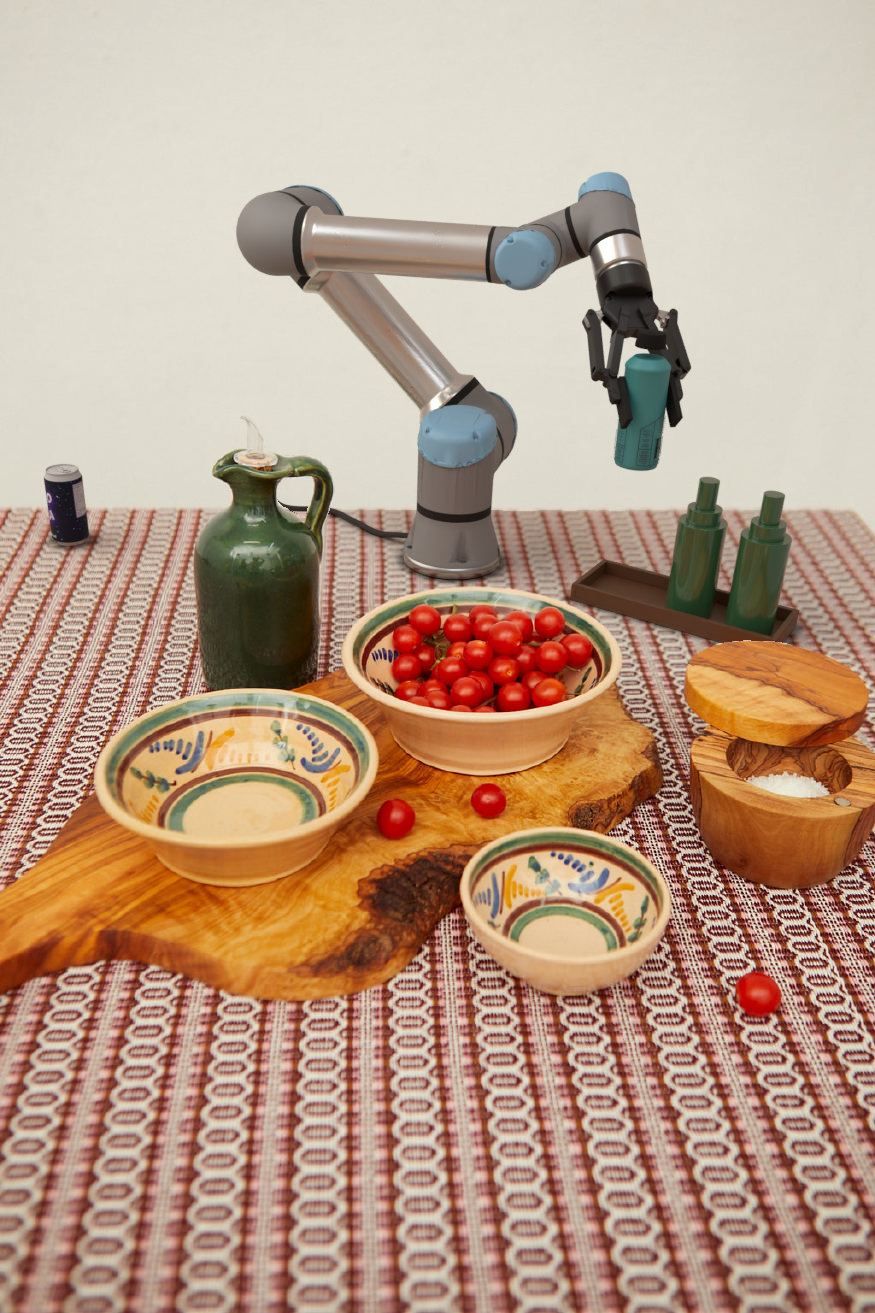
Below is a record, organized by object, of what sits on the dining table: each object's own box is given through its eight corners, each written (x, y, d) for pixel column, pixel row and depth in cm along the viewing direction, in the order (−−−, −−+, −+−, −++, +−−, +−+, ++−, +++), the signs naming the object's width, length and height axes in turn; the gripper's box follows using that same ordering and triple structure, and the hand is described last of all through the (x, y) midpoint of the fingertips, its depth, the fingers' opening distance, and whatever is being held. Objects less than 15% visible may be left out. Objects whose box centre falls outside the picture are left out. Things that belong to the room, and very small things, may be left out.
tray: (569, 599, 163) (571, 583, 162) (602, 573, 172) (603, 558, 170) (772, 657, 149) (775, 640, 148) (796, 626, 158) (799, 609, 157)
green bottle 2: (717, 629, 155) (741, 495, 145) (733, 612, 160) (757, 481, 150) (764, 642, 151) (792, 506, 142) (779, 624, 157) (806, 492, 147)
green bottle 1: (657, 613, 159) (677, 481, 149) (674, 596, 164) (694, 468, 154) (702, 625, 156) (725, 491, 146) (718, 608, 161) (741, 478, 151)
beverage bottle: (656, 483, 152) (678, 337, 143) (608, 478, 153) (627, 333, 144) (657, 469, 158) (678, 327, 148) (611, 464, 159) (629, 323, 150)
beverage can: (74, 531, 178) (65, 460, 173) (97, 540, 176) (88, 468, 170) (45, 541, 174) (34, 469, 169) (68, 550, 172) (58, 477, 166)
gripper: (674, 292, 160) (706, 434, 154) (548, 292, 156) (575, 438, 150) (695, 260, 153) (729, 407, 147) (564, 259, 149) (593, 411, 143)
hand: (651, 422), depth 149 cm, fingers closed on beverage bottle, 6 cm apart
